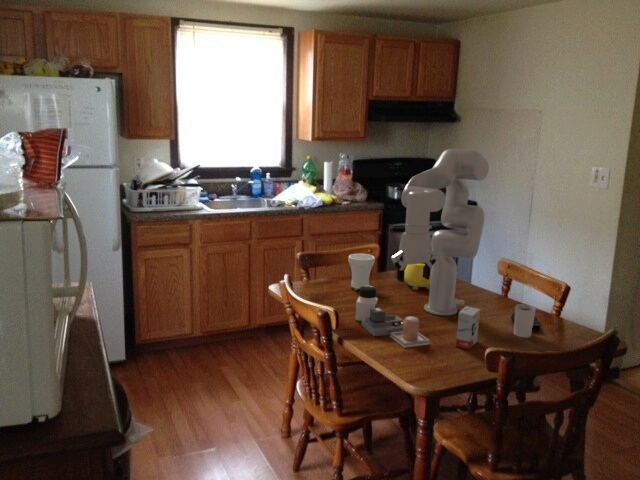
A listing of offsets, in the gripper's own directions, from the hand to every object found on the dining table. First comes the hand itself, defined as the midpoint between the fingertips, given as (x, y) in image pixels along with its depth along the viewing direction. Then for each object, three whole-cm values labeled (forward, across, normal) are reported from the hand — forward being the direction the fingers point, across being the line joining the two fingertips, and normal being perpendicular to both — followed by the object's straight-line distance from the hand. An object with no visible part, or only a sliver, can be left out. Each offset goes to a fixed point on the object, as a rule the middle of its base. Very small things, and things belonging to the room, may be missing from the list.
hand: (413, 279), depth 192 cm
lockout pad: (+20, +1, +2) cm, 21 cm away
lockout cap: (+20, +1, +2) cm, 20 cm away
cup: (+22, -8, -54) cm, 58 cm away
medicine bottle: (+21, +6, -21) cm, 30 cm away
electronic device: (+22, -48, +1) cm, 53 cm away
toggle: (+18, +7, -9) cm, 21 cm away
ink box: (+21, -16, +10) cm, 28 cm away
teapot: (+22, -34, -48) cm, 63 cm away
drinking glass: (+21, -40, +9) cm, 47 cm away
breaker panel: (+21, +4, -9) cm, 23 cm away
